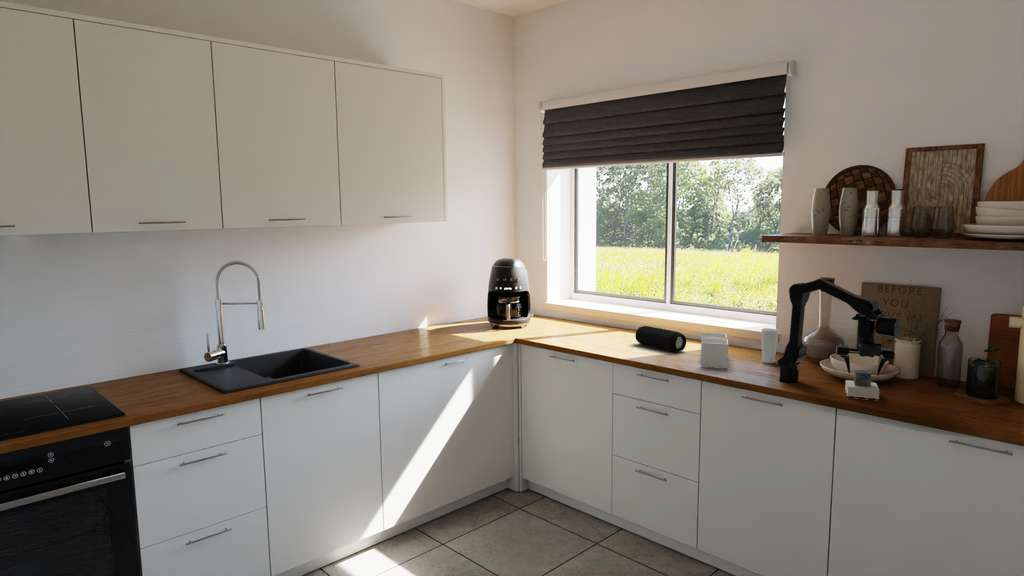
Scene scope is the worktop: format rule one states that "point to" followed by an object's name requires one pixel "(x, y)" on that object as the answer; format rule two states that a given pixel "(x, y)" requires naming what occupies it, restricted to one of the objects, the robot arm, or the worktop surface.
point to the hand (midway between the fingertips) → (863, 374)
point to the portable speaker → (661, 338)
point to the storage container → (714, 350)
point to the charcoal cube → (862, 378)
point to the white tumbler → (769, 345)
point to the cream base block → (862, 390)
